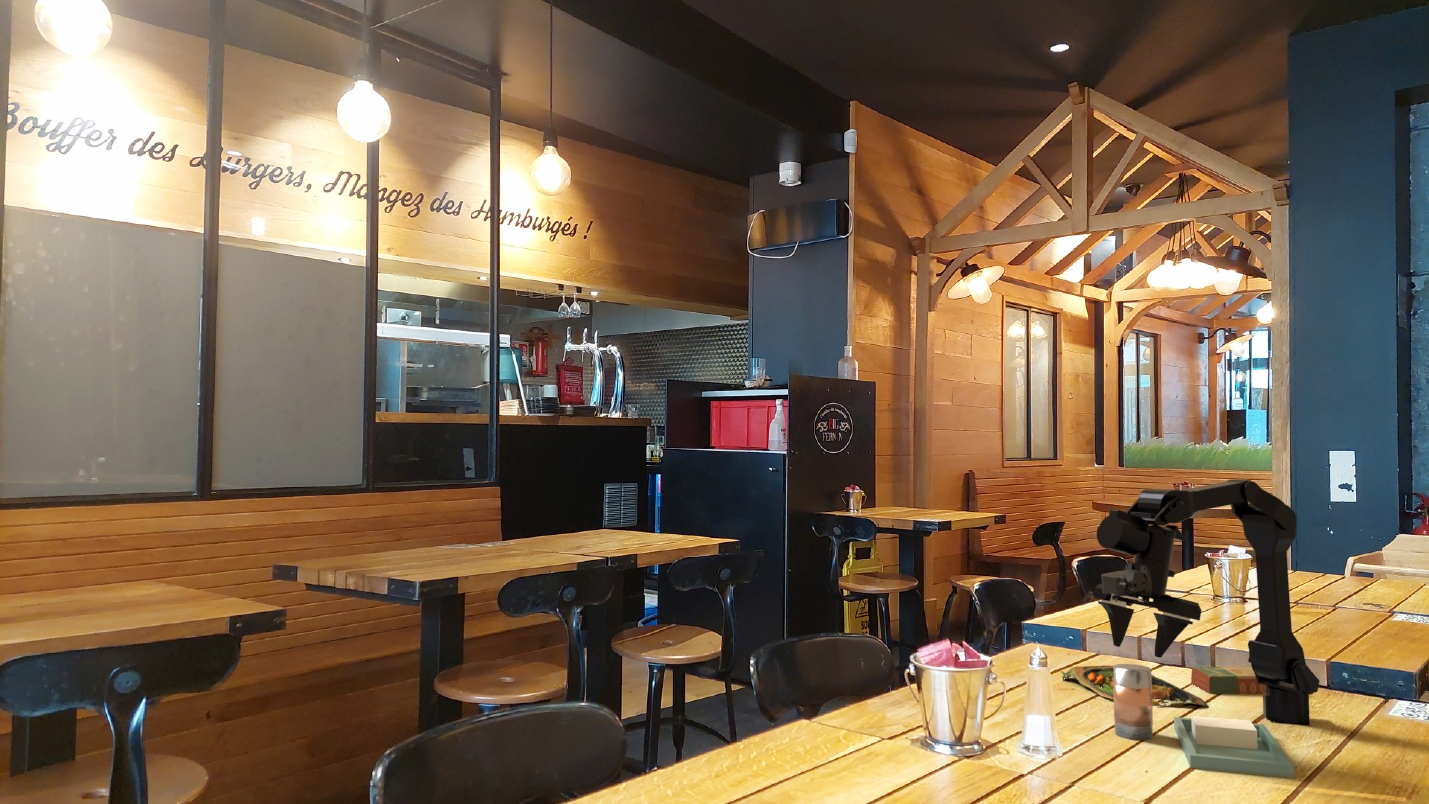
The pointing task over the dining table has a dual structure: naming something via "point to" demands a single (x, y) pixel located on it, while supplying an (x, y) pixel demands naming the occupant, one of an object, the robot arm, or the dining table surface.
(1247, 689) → the carton
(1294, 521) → the robot arm
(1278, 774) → the tray
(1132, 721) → the tin can
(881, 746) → the dining table surface
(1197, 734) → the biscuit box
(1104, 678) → the prepared meal
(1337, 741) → the dining table surface
